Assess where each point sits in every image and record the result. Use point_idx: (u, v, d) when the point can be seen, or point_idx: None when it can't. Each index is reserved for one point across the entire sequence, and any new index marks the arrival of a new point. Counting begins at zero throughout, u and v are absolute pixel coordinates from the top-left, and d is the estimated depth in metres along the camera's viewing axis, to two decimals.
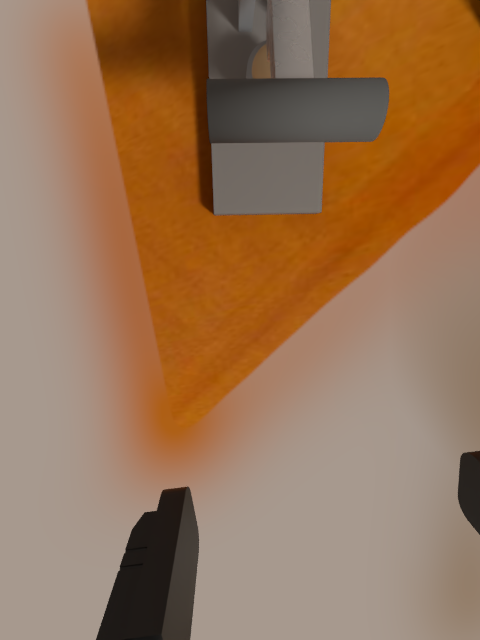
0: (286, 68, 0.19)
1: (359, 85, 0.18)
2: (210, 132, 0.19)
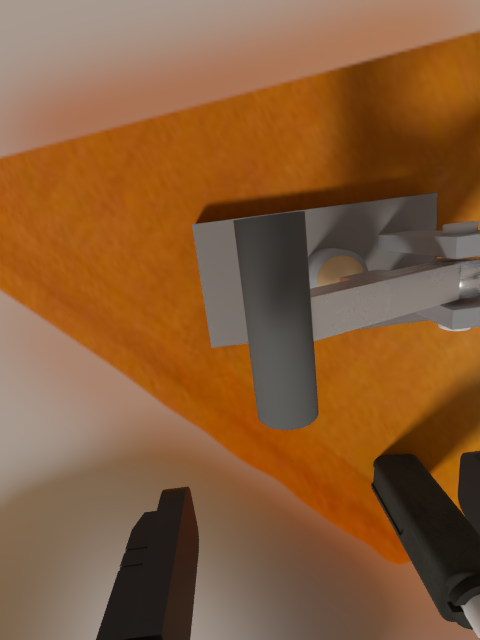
0: (322, 308, 0.16)
1: (306, 395, 0.15)
2: (240, 221, 0.14)
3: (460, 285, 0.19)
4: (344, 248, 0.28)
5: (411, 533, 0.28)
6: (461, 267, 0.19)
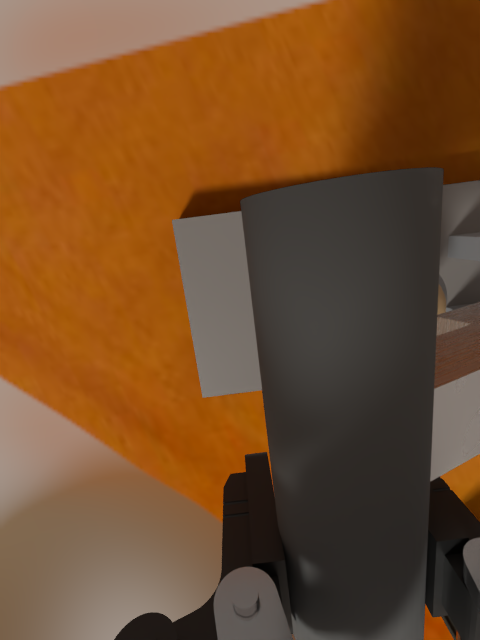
0: (449, 410, 0.07)
1: (414, 623, 0.06)
2: (263, 199, 0.05)
3: None
4: None
5: None
6: None
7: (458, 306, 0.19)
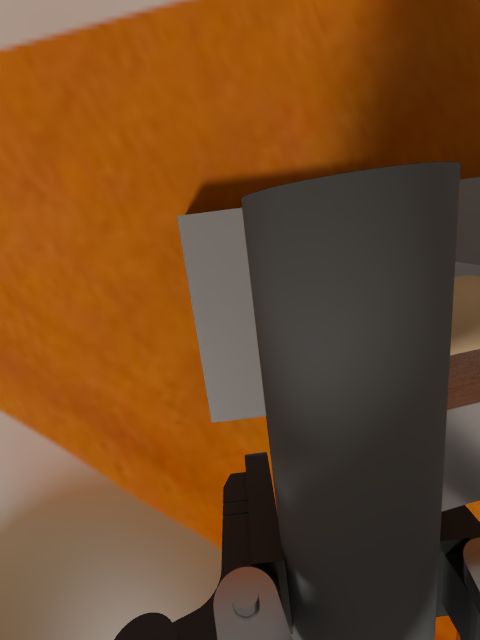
0: (475, 435, 0.06)
1: None
2: (252, 200, 0.05)
3: None
4: None
5: None
6: None
7: None
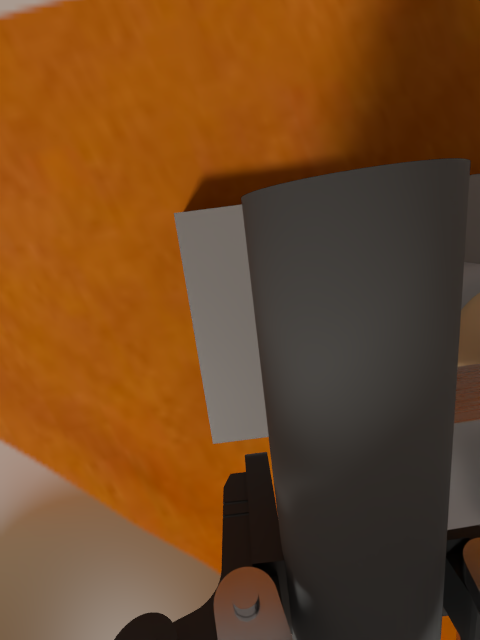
0: None
1: None
2: (247, 201, 0.05)
3: None
4: (475, 261, 0.14)
5: None
6: None
7: None
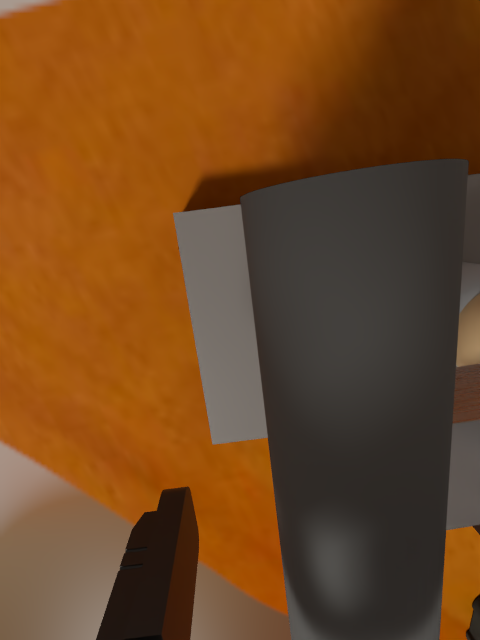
0: None
1: None
2: (246, 201, 0.05)
3: None
4: (476, 261, 0.14)
5: None
6: None
7: None
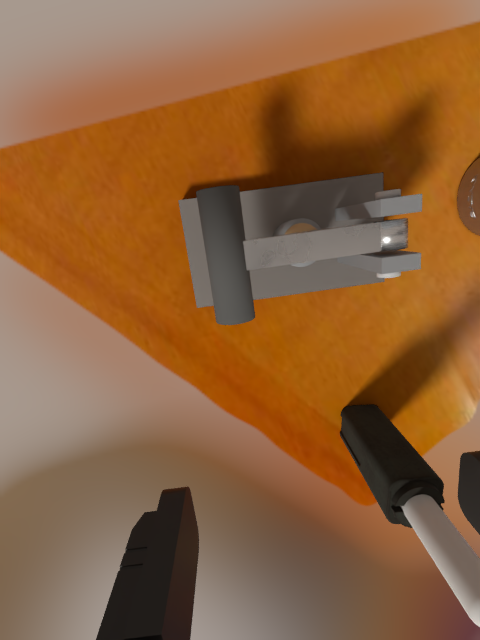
0: (252, 248, 0.24)
1: (237, 303, 0.25)
2: (196, 193, 0.23)
3: (381, 239, 0.25)
4: None
5: (367, 459, 0.34)
6: (381, 225, 0.25)
7: None
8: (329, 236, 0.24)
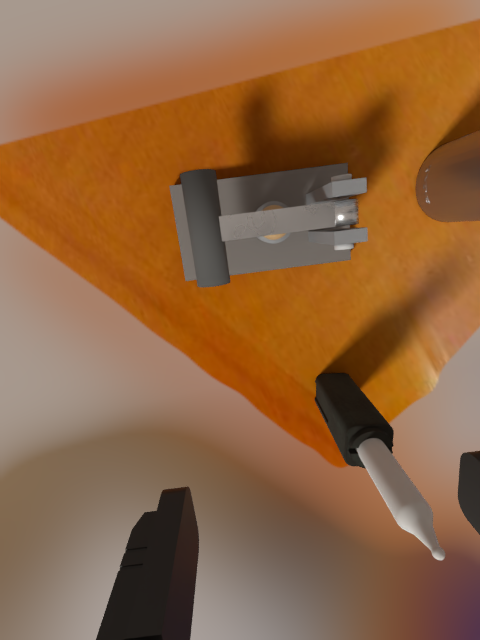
0: (226, 223, 0.29)
1: (214, 268, 0.30)
2: (180, 175, 0.28)
3: (335, 216, 0.30)
4: None
5: (332, 415, 0.38)
6: (335, 205, 0.29)
7: (314, 230, 0.38)
8: (291, 213, 0.29)
